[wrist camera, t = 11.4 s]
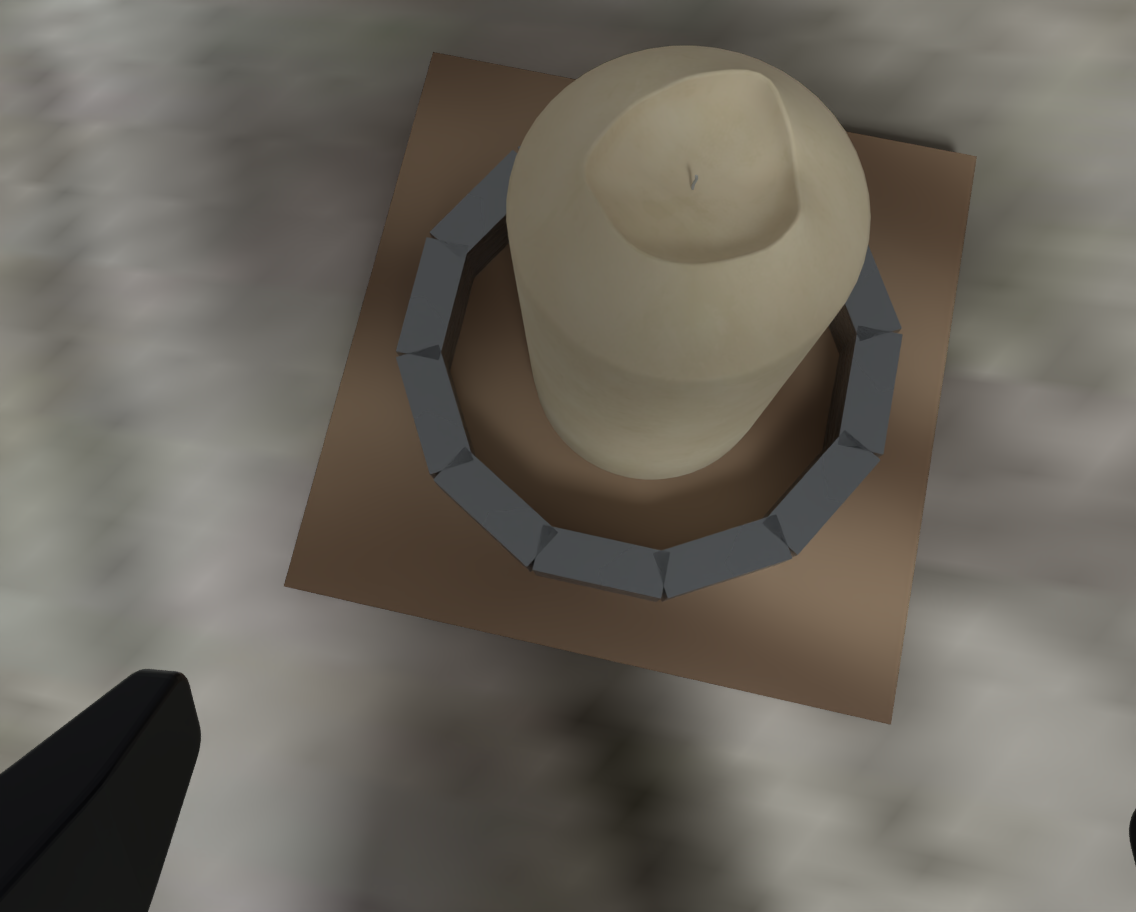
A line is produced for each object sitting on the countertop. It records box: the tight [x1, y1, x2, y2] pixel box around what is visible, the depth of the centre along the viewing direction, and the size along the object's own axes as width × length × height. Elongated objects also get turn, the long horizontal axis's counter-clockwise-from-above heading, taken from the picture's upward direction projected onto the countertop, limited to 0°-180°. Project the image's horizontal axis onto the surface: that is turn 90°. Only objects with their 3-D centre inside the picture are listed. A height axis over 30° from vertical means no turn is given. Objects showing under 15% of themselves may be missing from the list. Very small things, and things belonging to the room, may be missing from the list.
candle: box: [506, 45, 871, 480], centre depth 18 cm, size 6×6×10 cm
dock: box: [284, 52, 977, 724], centre depth 22 cm, size 14×14×2 cm
